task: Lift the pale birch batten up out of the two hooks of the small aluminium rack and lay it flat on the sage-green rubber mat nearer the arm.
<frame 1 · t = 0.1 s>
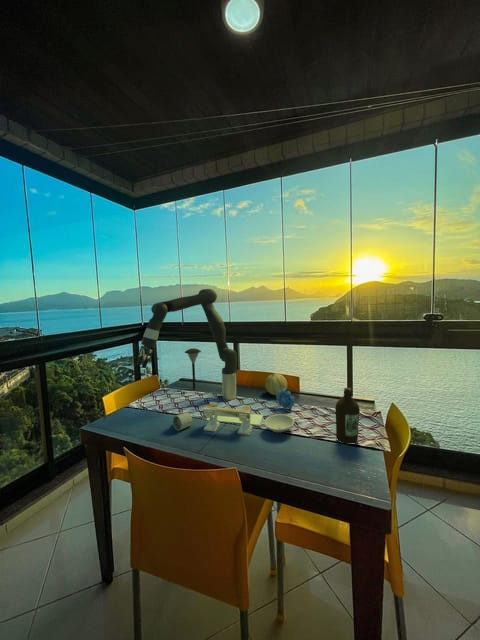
hand: (141, 366, 154), 31 cm above the table, tool tilted 20°, fingers open, 8 cm apart
solar garden light: (194, 389, 207), on the table
ceramic mug: (181, 427, 149), on the table
olive oil: (346, 440, 133), on the table
dish: (279, 431, 143), on the table
grapes: (284, 409, 169), on the table
cantaloupe: (276, 394, 193), on the table
birch batten: (227, 415, 144), point 8 cm above the table, touching hook rack
hook rack: (227, 430, 145), on the table
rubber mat: (235, 418, 158), on the table
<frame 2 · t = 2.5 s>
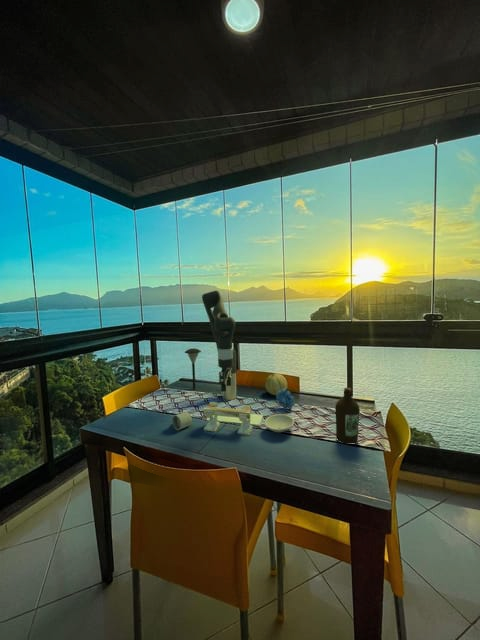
hand: (226, 388, 143), 22 cm above the table, tool pointing down, fingers open, 8 cm apart
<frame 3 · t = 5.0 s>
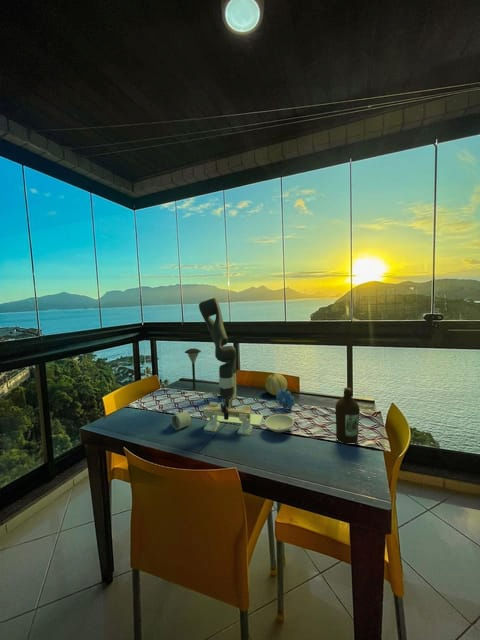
hand: (227, 417, 144), 7 cm above the table, tool pointing down, fingers closed on birch batten, 3 cm apart
birch batten: (227, 415, 144), point 8 cm above the table, touching gripper, hook rack
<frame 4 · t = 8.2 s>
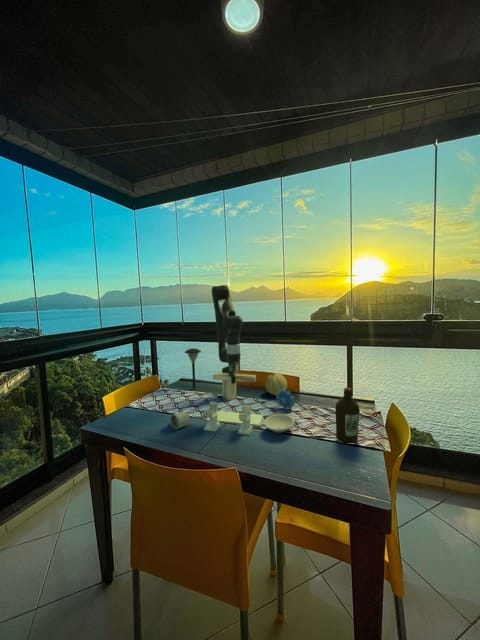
hand: (234, 382, 156), 21 cm above the table, tool pointing down, fingers closed on birch batten, 3 cm apart
birch batten: (234, 379, 156), point 22 cm above the table, touching gripper
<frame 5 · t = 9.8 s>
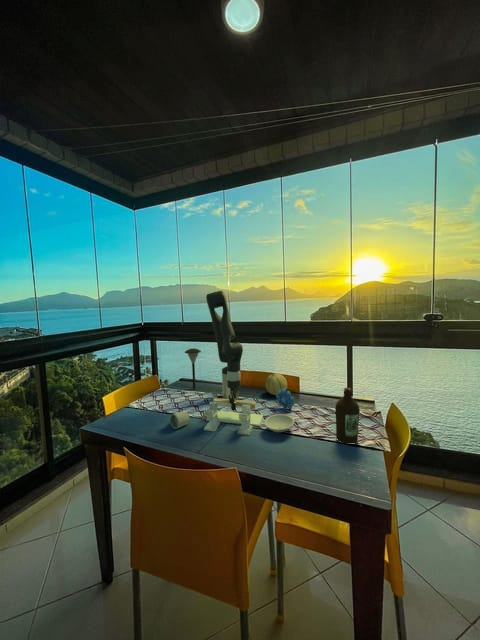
hand: (234, 408, 158), 6 cm above the table, tool pointing down, fingers closed on birch batten, 3 cm apart
birch batten: (234, 405, 158), point 7 cm above the table, touching gripper
when the fingers open (2 cm above the table, at t = 11.3 s): birch batten drops 2 cm, resting on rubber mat.
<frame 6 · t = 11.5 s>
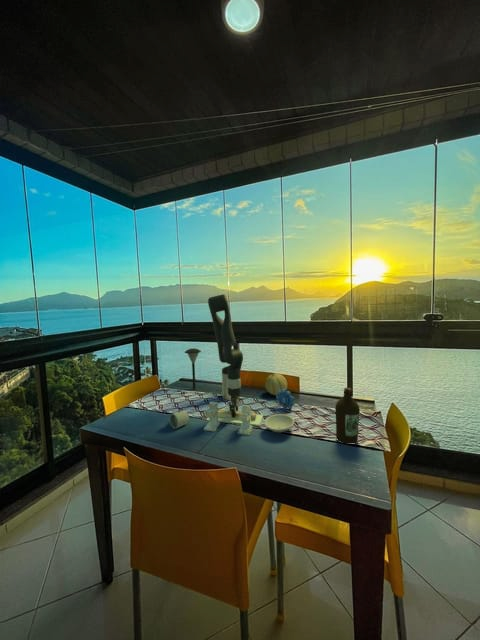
hand: (234, 415, 158), 2 cm above the table, tool pointing down, fingers open, 4 cm apart
birch batten: (234, 417, 158), point 1 cm above the table, touching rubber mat
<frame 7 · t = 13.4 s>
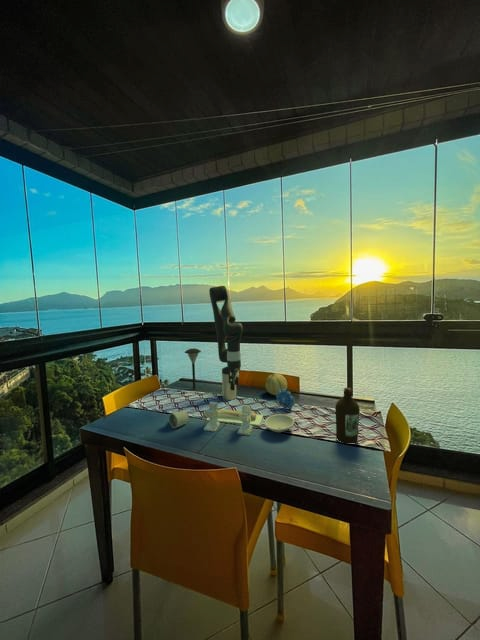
hand: (234, 387, 157), 18 cm above the table, tool pointing down, fingers open, 8 cm apart
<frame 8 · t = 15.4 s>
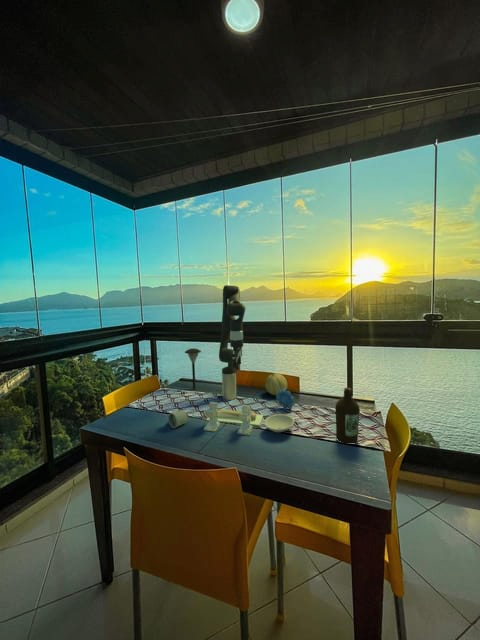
hand: (237, 366, 162), 28 cm above the table, tool pointing down, fingers open, 8 cm apart
at the end: birch batten inside the target area (0.0 cm from its centre), point 0.6 cm above the table; birch batten touching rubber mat; the gripper is holding nothing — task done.
